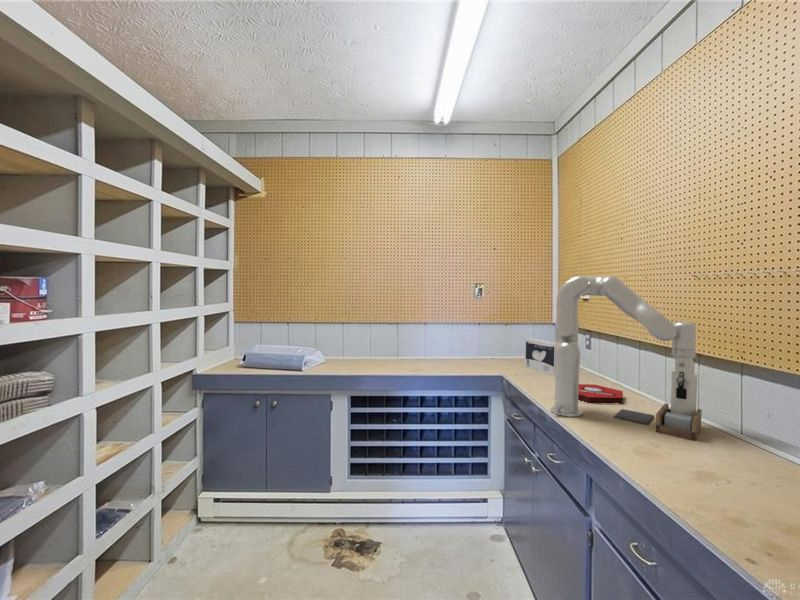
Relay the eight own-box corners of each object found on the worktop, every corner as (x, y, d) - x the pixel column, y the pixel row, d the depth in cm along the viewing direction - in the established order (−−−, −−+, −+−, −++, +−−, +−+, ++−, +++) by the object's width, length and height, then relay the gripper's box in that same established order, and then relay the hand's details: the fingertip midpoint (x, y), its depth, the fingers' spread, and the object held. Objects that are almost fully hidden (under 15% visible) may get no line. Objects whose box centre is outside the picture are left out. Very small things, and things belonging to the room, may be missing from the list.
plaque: (622, 409, 176) (622, 394, 202) (622, 401, 176) (623, 387, 202) (559, 400, 189) (567, 387, 215) (559, 392, 189) (567, 381, 215)
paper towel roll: (666, 423, 156) (668, 371, 155) (676, 422, 158) (678, 370, 157) (685, 430, 149) (687, 375, 148) (695, 428, 151) (697, 374, 150)
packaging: (524, 366, 272) (525, 338, 271) (531, 366, 274) (532, 338, 273) (554, 375, 243) (555, 344, 243) (562, 375, 245) (563, 344, 244)
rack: (695, 440, 138) (696, 421, 138) (655, 432, 146) (656, 413, 146) (700, 427, 153) (701, 409, 152) (664, 419, 161) (665, 403, 160)
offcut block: (690, 436, 142) (690, 420, 142) (664, 431, 148) (664, 415, 148) (691, 432, 147) (692, 416, 147) (666, 427, 152) (666, 412, 152)
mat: (647, 425, 154) (647, 423, 154) (613, 417, 162) (613, 416, 162) (653, 417, 164) (653, 415, 164) (622, 410, 172) (622, 408, 172)
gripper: (692, 356, 144) (692, 402, 144) (697, 351, 156) (697, 393, 157) (668, 354, 149) (668, 398, 149) (675, 349, 161) (674, 390, 162)
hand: (683, 396), depth 153 cm, fingers open, 9 cm apart
